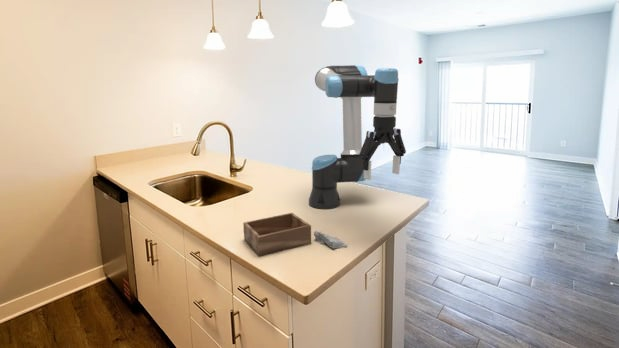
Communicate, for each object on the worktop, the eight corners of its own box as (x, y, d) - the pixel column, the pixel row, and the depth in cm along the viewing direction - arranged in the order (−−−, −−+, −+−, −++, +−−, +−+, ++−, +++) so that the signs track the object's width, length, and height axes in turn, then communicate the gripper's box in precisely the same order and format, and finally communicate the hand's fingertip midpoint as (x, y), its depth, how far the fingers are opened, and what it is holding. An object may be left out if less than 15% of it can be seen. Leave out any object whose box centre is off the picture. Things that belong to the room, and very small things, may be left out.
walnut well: (244, 240, 129) (243, 222, 128) (292, 229, 139) (292, 212, 137) (259, 256, 117) (258, 237, 115) (311, 243, 126) (311, 225, 124)
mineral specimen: (325, 238, 133) (325, 227, 132) (348, 246, 124) (348, 235, 123) (312, 242, 129) (312, 231, 128) (335, 251, 120) (335, 239, 119)
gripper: (363, 118, 109) (361, 184, 114) (418, 114, 122) (414, 173, 127) (348, 117, 115) (347, 179, 120) (402, 113, 128) (399, 169, 133)
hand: (381, 176), depth 124 cm, fingers open, 13 cm apart
